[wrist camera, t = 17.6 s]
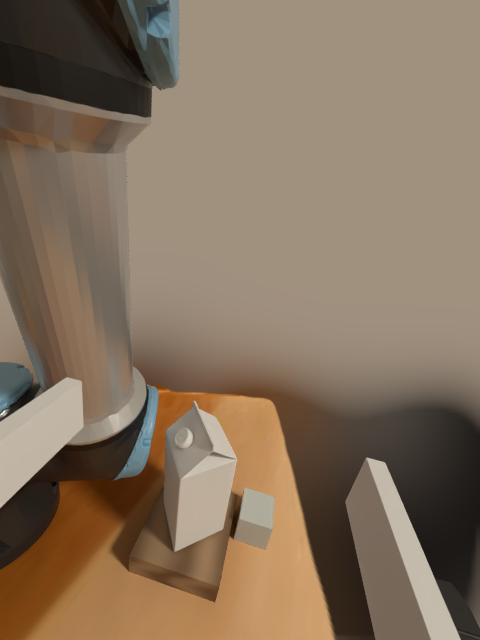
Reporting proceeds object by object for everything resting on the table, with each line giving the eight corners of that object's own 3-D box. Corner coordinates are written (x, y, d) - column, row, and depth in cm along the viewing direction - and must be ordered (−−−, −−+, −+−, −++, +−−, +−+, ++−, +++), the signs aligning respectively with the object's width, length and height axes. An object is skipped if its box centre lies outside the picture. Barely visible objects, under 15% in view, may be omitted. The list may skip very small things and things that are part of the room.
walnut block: (128, 573, 35) (129, 555, 33) (167, 490, 46) (169, 474, 44) (214, 604, 33) (219, 587, 32) (233, 510, 45) (237, 495, 43)
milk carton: (206, 484, 43) (219, 395, 35) (223, 530, 38) (242, 435, 30) (163, 501, 40) (166, 406, 32) (174, 553, 34) (181, 454, 27)
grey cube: (233, 539, 40) (239, 518, 38) (239, 507, 45) (244, 487, 43) (265, 550, 40) (272, 529, 38) (267, 516, 44) (274, 496, 43)
